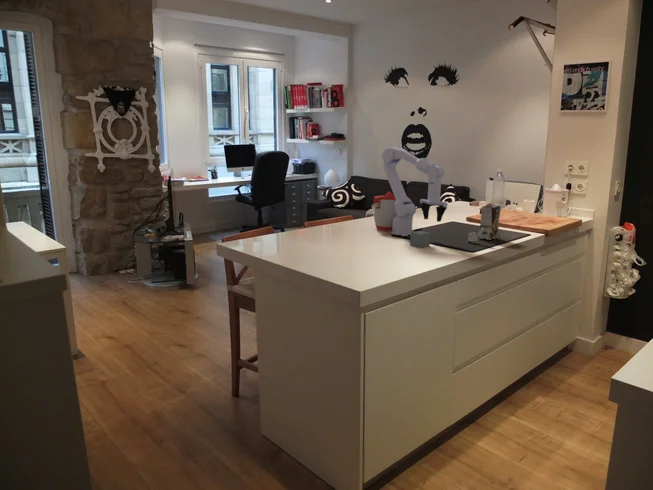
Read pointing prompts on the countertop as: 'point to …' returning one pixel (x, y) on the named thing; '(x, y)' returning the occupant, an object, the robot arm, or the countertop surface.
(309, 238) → the countertop surface
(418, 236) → the grey-green cube
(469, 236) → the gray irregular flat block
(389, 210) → the citrus juicer
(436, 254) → the countertop surface
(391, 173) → the robot arm
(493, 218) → the coffee box
